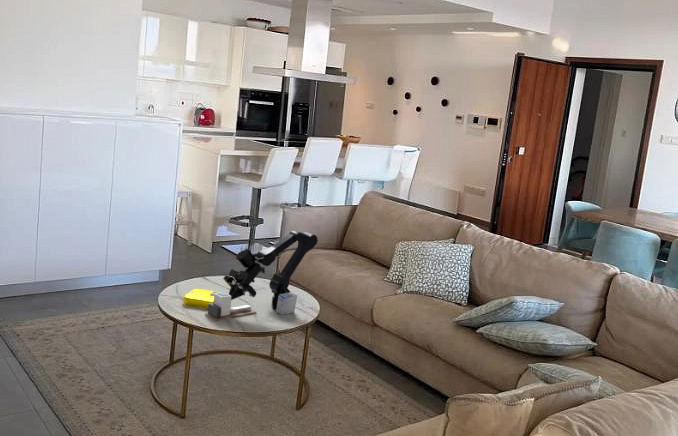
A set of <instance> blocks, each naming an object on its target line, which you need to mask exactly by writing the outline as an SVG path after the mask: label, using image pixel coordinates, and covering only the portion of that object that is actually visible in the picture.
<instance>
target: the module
mask: <svg viewBox="0 0 678 436" xmlns="http://www.w3.org/2000/svg"><path fill="white" fill-rule="evenodd" d="M219 292H220V291H219ZM231 302H232V300H231V295H229V293H226V292H224V291H222V292H220V293H214V299H213V303H214V304H216V305H217V306H219V307H221V316H225V315H229V314H230V308H231Z"/></svg>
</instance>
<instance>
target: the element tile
mask: <svg viewBox="0 0 678 436" xmlns="http://www.w3.org/2000/svg"><path fill="white" fill-rule="evenodd" d="M214 293H220V291H215V290H210V289H209V290H208V289H202V288H196V287H195V288H193V289H192V290H190V291H189V292H187V293H185V294H184V295H183V304H182V305H184V306H186V307H192V308H198V309H205V310H208V304H209V303H213V299H214Z"/></svg>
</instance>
